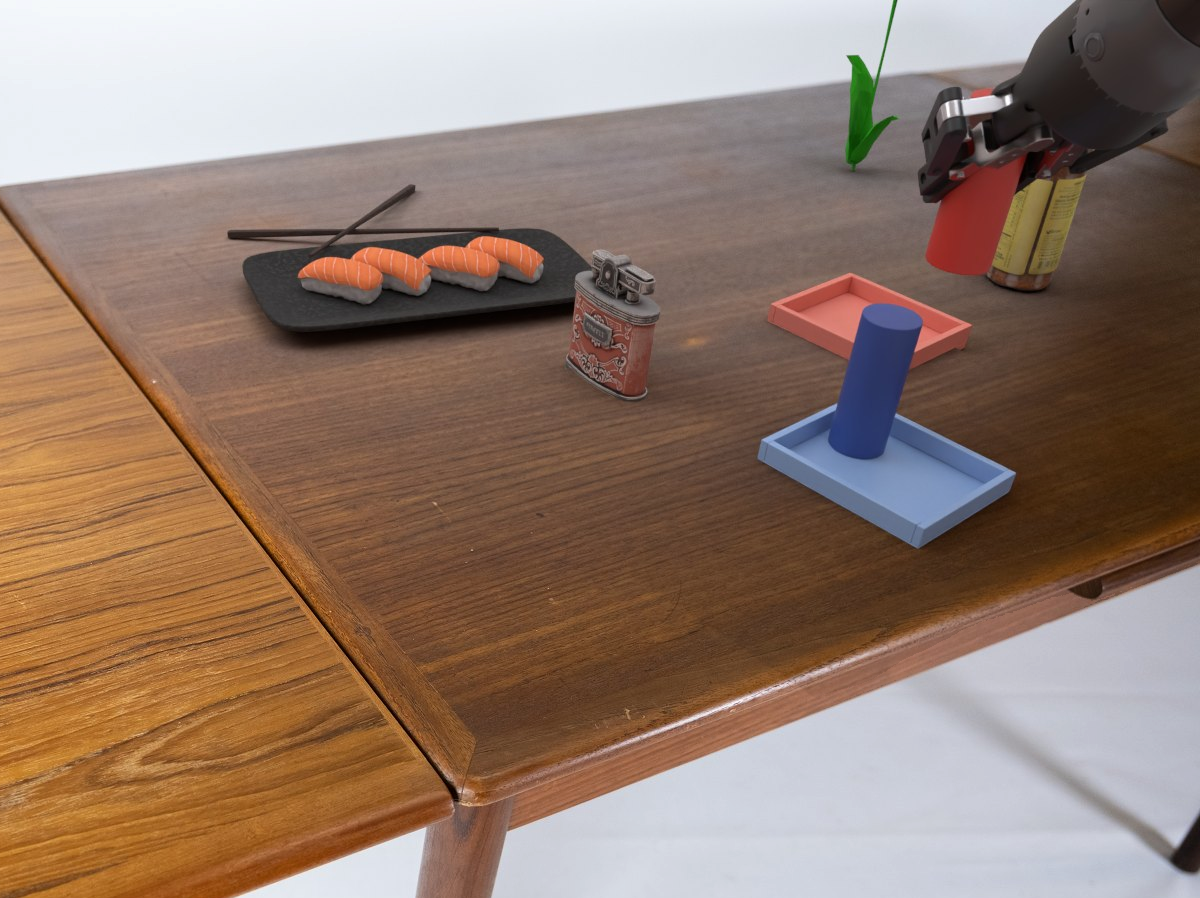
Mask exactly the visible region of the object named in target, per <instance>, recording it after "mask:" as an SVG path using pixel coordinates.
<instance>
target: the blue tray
mask: <svg viewBox="0 0 1200 898" xmlns="http://www.w3.org/2000/svg"><path fill="white" fill-rule="evenodd" d="M836 407H837V403H835V404H833V405H830V406H828V407H826V408H824V409H822V410H820V411H818V412H816V413H814V414H812V415H810V416H808V417H805V418H804V419H801V420H799V421H797V422H796V423H793V424H790V425H789V426H787V427H785V428H783V429H780V430H778V431H776V432H774V433H773V434H770V435H768V436H767V437H764V438H762V439H761V441H760V445H759V449H758V454H757V460H758V461H761V462H762V463H765V464H766V465H768V466H770V467H772V468H773V469H775V470H777V471H778V472H780V473H782V474H784V475H786V476H788V477H789V478H790V479H793V480H795V481H796V482H798V483H800V484H802V485H804V486H805V487H807V488H809V489H811V490H812V491H814V492H816V493H818V494H819V495H821V496H823V497H825V498H826V499H828V500H830V501H832V502H834V503H835V504H837V505H839V506H841V507H843V508H844V509H847V510H848V511H850V512H851V513H853V514H856V515H857V516H859V517H861V518H863V519H864V520H866V521H868V522H870V523H871V524H873V525H875V526H876V527H879V528H880V529H882V530H884V531H886V532H888V533H889V534H890V535H893V536H894V537H896V538H898V539H900V540H902V541H903V542H904V543H907V544H909V545H910V546H912V547H915V548H916V549H920V548H922V547H924V546H925V545H927V544H928V543H929V542H932V541H933V540H935V538H938V537H939V536H941V535H942V534H944V533H946V532H947V531H949V530H950V529H952V528H954V527H955V526H957V525H959V524H960V523H962V522H964V521H965V520H966V519H968V518H970V517H971V516H973V515H974V514H977V513H978V512H980V511H981V510H983V509H984V508H986V507H988V506H989V505H990V504H992V503H994V502H995V501H997V500H999V499H1000V498H1002V497H1003V496H1005V495H1006V494H1009V493H1010V492H1011V489H1012V485H1013V483H1014V480H1015V478H1016V475H1017V472H1015V471H1013V470H1012V469H1009V468H1008V467H1005V466H1004V465H1002V464H1000V463H998V462H996V461H994V460H992V459H990V458H988V457H985V456H983V455H982V454H980V453H978V452H976V451H973V450H971V449H969V448H967V447H965V446H963V445H961V444H959V443H957V442H955V441H954V440H951V439H949V438H948V437H945V436H943V435H941V434H939V433H937V432H935V431H933V430H931V429H929V428H927V427H925V426H924V425H920V424H919V423H917V422H914V421H913V420H911V419H909V418H907V417H905V416H903V415H901V414H899V413H897V412H896V414H895V418H894V421H893V424H892V428H891V431H890V434H889V437H888V441H887V444H886V447H885V451H884V453H883V454H882V455H881V456H879V457H877V458H873V459H857V458H852V457H849V456H846V455H843V454H841V453H839V452H837V451H836V450H834V449H833V448H832V447H831V446H830V444H829V441H828V437H829V433H830V429H831V426H832V422H833V418H834V415H835V411H836Z"/></svg>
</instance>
